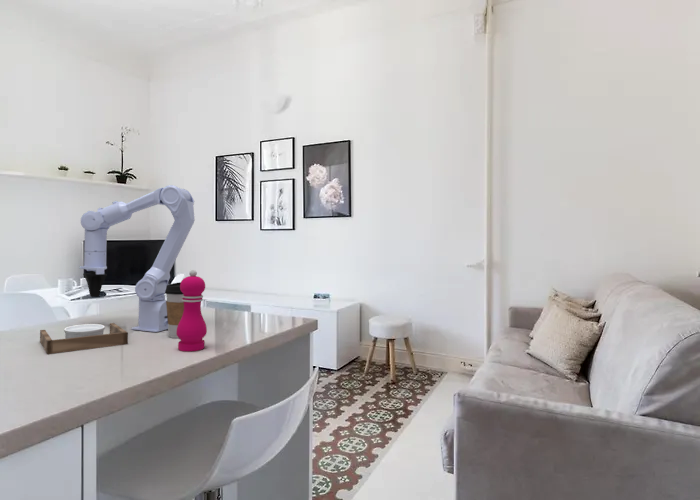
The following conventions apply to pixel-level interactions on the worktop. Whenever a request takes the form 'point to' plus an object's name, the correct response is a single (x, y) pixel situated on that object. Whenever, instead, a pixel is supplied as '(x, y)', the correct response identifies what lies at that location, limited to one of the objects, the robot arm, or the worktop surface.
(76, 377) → the worktop surface
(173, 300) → the coffee cup
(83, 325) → the ramekin
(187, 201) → the robot arm
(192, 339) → the pepper mill
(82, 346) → the box
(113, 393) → the worktop surface
